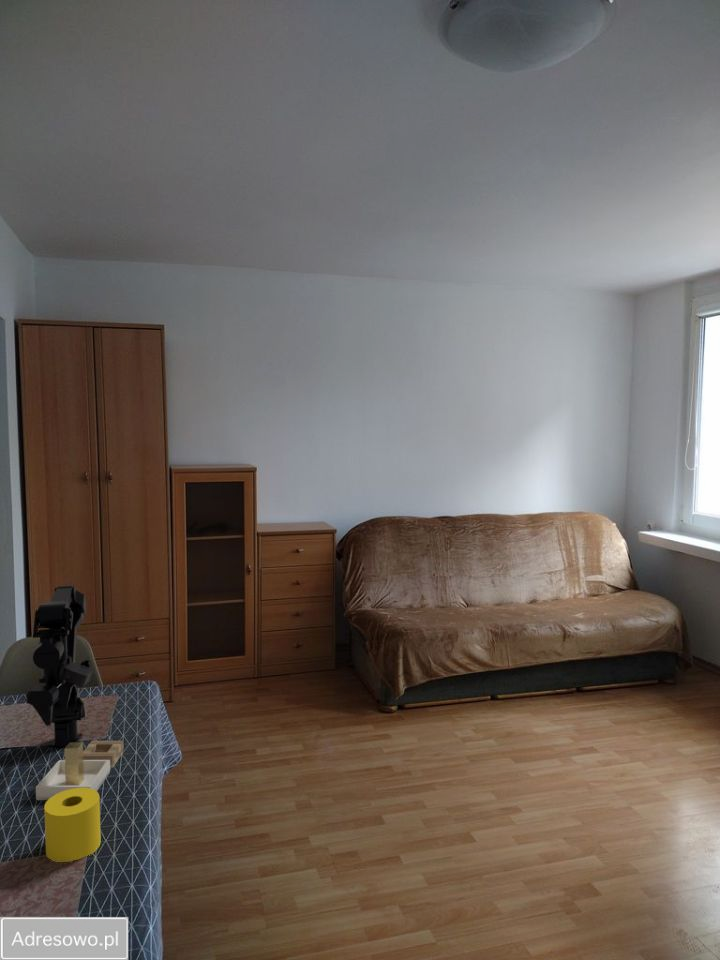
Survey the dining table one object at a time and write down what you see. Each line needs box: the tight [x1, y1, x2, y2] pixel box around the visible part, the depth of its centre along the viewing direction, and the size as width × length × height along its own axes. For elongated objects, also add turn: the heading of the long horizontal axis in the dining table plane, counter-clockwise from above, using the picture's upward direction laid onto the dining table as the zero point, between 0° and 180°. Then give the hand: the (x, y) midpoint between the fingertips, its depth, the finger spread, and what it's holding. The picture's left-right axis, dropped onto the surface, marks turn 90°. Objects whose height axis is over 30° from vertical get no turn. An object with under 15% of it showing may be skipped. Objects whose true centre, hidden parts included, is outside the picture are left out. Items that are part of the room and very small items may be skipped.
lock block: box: [83, 740, 124, 769], centre depth 169 cm, size 8×8×3 cm
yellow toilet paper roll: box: [44, 788, 102, 862], centre depth 134 cm, size 10×10×9 cm
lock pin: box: [64, 741, 84, 786], centre depth 157 cm, size 3×3×9 cm
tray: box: [35, 759, 111, 801], centre depth 157 cm, size 12×12×3 cm
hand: (56, 716), depth 166 cm, fingers open, 9 cm apart
